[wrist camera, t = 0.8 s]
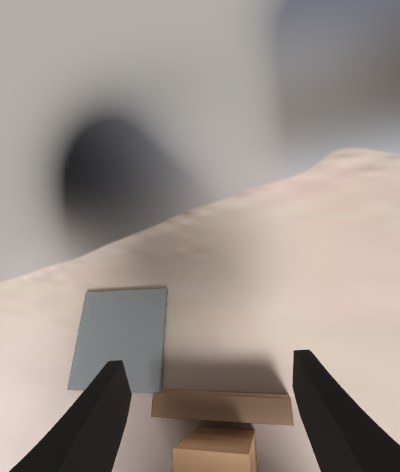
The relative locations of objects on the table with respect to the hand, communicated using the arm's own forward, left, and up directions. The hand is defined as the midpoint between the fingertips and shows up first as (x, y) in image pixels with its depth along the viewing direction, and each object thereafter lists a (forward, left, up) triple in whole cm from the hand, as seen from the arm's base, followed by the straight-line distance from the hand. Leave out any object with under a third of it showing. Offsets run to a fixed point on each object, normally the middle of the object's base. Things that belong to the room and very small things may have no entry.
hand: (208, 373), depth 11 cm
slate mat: (+2, +11, -13) cm, 17 cm away
